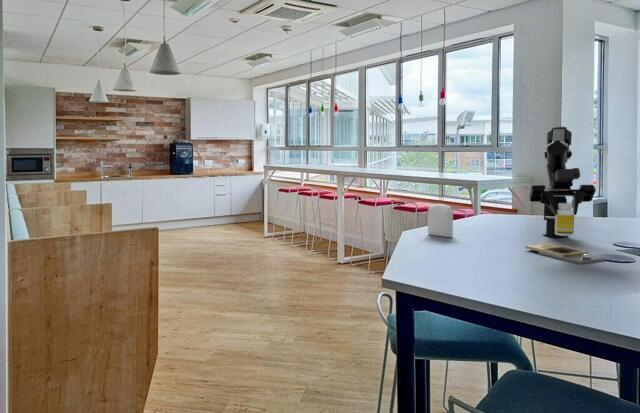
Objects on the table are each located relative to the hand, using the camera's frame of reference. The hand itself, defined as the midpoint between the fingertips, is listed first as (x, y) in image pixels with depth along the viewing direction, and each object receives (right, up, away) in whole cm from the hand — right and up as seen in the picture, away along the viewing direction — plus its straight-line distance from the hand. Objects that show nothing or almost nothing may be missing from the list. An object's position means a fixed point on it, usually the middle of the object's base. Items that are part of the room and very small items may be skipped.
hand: (565, 214), depth 164 cm
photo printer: (-30, -9, +41) cm, 52 cm away
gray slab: (0, -13, +3) cm, 13 cm away
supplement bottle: (0, -7, +2) cm, 7 cm away
